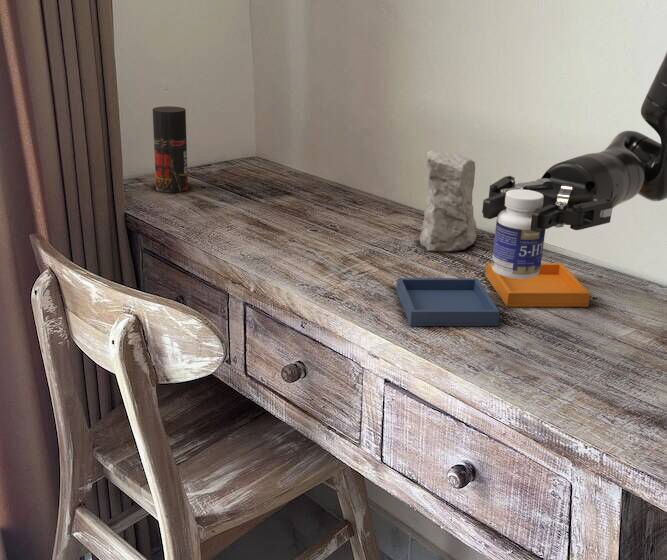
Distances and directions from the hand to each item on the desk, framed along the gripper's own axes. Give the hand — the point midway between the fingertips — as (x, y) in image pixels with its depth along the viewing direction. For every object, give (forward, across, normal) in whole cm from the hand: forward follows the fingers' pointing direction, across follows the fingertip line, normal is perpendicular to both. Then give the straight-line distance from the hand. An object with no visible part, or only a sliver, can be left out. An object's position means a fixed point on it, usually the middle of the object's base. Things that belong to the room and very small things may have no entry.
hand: (510, 215), depth 86 cm
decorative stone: (-31, -28, +18) cm, 45 cm away
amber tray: (-23, -8, +18) cm, 30 cm away
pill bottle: (-3, 0, +7) cm, 8 cm away
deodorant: (-16, -82, +18) cm, 85 cm away
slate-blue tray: (-9, -13, +18) cm, 24 cm away
